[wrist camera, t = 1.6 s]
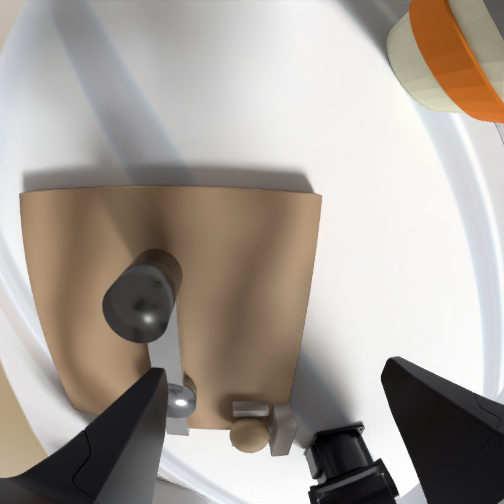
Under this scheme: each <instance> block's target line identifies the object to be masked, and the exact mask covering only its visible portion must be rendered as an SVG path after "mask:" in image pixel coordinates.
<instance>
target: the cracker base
mask: <svg viewBox="0 0 504 504" xmlns="http://www.w3.org/2000/svg"><path fill="white" fill-rule="evenodd" d="M19 198H20V215H21V226H22V236H23V244H24V251H25V258H26V264H27V269H28V274H29V280H30V284H31V289H32V293H33V298H34V302H35V306H36V309H37V313H38V317H39V320H40V324H41V327H42V330H43V333H44V337H45V340H46V343H47V346H48V348H49V351H50V354H51V357H52V359H53V362H54V365H55V367H56V370H57V372H58V375H59V377H60V380H61V382H62V384H63V386H64V389H65V391H66V393H67V395H68V397H69V400H70V402H71V404H72V406H73V408H74V409H76V410H80V411H83V412H87V413H92V414H96V415H100V414H101V413H102V412H103V411H104V410H106V409H107V408H108V407H109V406H110V405H111V404H112V403H113V402H114V401H115V400H117V399H118V398H119V397H120V396H121V395H122V394H123V393H124V392H125V391H126V390H127V389H129V388H130V387H131V386H132V385H133V384H134V383H135V382H136V381H137V380H138V379H139V378H140V377H142V376H143V375H144V374H145V373H146V372H147V371H148V370H149V369H150V368H152V367H151V361H150V356H149V349H148V343H143V344H141V343H134V342H130V341H128V340H125V339H123V338H122V337H120V336H119V335H117V334H116V333H115V332H114V331H113V330H112V329H111V328H110V327H109V325H108V324H107V322H106V320H105V318H104V315H103V311H102V301H103V297H104V295H105V293H106V291H107V290H108V289H109V288H110V286H111V285H112V284H113V283H114V282H115V281H116V279H117V278H118V277H119V276H120V275H121V274H122V273H123V272H124V270H125V269H126V268H127V267H128V266H129V265H130V264H131V263H132V261H133V260H134V259H135V258H136V257H137V256H138V255H139V254H140V253H142V252H143V251H145V250H148V249H161V250H164V251H167V252H169V253H170V254H172V255H173V256H174V257H175V258H176V259H177V261H178V262H179V264H180V266H181V268H182V272H183V280H182V284H181V287H180V290H179V293H178V294H179V314H180V330H181V343H182V355H183V366H184V376H185V377H186V378H188V379H189V380H191V381H192V382H193V383H194V385H195V386H196V388H197V402H196V409H195V411H194V413H193V414H191V415H190V416H188V418H189V425H190V428H195V429H222V430H231V427H232V426H233V424H234V423H235V422H236V421H238V420H239V419H242V418H245V417H255V418H258V419H260V420H262V421H263V422H264V423H265V424H266V425H267V426H268V429H269V432H270V438H269V445H270V451H271V456H283V455H288V454H289V451H290V448H291V445H292V442H293V439H294V436H295V432H296V429H297V424H296V421H295V417H294V414H293V410H292V406H291V403H288V402H289V398H290V393H291V389H292V384H293V380H294V375H295V370H296V365H297V361H298V356H299V351H300V345H301V340H302V335H303V329H304V324H305V318H306V312H307V306H308V300H309V294H310V288H311V281H312V275H313V268H314V261H315V253H316V246H317V238H318V230H319V221H320V212H321V203H322V195H319V194H316V193H307V192H296V191H284V190H270V189H255V188H237V187H213V186H161V185H152V186H102V187H80V188H63V189H49V190H37V191H29V192H24V193H20V194H19ZM232 446H234V445H233V444H232Z"/></svg>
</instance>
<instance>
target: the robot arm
mask: <svg viewBox="0 0 504 504" xmlns="http://www.w3.org/2000/svg"><path fill="white" fill-rule="evenodd" d="M381 382H382V385H383V388H384V391H385V394H386V397H387V401H388V404H389V407H390V410H391V413H392V415H393V418H394V420H395V422H396V425H397V427H398V429H399V432H400V434H401V436H402V439H403V441H404V443H405V446H406V448H407V451H408V453H409V456H410V458H411V460H412V463H413V466H414V468H415V471H416V473H417V476H418V478H419V481H420V483H421V486H422V489H423V492H424V494H425V497H426V499H427V503H428V504H504V405H503V404H500V403H497V402H495V401H492V400H490V399H487V398H485V397H483V396H480V395H478V394H476V393H473V392H472V391H470V390H467V389H465V388H463V387H461V386H459V385H457V384H455V383H453V382H450V381H448V380H446V379H444V378H442V377H440V376H438V375H436V374H434V373H432V372H430V371H428V370H426V369H423V368H421V367H419V366H417V365H415V364H413V363H411V362H409V361H407V360H405V359H403V358H401V357H399V356H396V357H391V358H389V359H388V360H387V362H386V364H385V367H384V369H383V372H382V374H381ZM168 393H169V388H168V382H167V376H166V371H165V369H164V368H159V367H152V368H150V369H149V370H148V371H147V372H146V373H145V374H144V375H143V376H142V377H140V378H139V379H138V380H137V381H136V382H135V383H134V384H133V385H132V386H131V387H130V388H129V389H127V390H126V391H125V392H124V393H123V394H122V395H121V396H120V397H119V398H118V399H117V400H115V401H114V402H113V403H112V404H111V405H110V406H109V407H108V408H107V409H106V410H104V411H103V412H102V413H101V414H100V415H99V416H98V417H97V418H96V419H94V420H93V421H92V422H91V423H90V424H89V425H88V426H87V427H86V428H85V430H82V431H81V432H80V433H79V434H78V435H76V436H75V437H74V438H73V439H72V440H70V441H69V442H68V443H67V444H66V445H64V446H63V447H62V448H60V449H59V450H58V451H56V452H55V453H53V454H52V455H50V456H49V457H47V458H46V459H44V460H43V461H41V462H40V463H38V464H37V465H35V466H34V467H32V468H30V469H29V470H27V471H26V472H24V473H22V474H20V475H17V476H14V477H9V478H0V504H152V501H153V495H154V489H155V483H156V478H157V472H158V467H159V462H160V457H161V452H162V447H163V442H164V437H165V429H166V417H167V404H168ZM364 429H365V427H364V425H358V426H353V427H348V428H343V429H337V430H332V431H326V432H320V433H317V434H316V435H315V437H314V439H313V442H312V444H311V445H310V447H309V449H308V451H307V454H306V460H307V462H308V465H309V469H310V472H311V476H312V479H314V480H315V479H317V481H318V485H313V486H310V491H309V492H308V494H309V498H310V503H311V504H396V501H395V500H397V499H399V498H400V496H399V493H398V490H397V487H396V485H395V483H394V481H393V479H392V477H391V475H390V474H389V472H388V470H387V468H386V467H385V465H384V463H383V461H382V459H381V458H380V459H378V460H376V461H375V462H374V461H373V459H372V457H371V455H370V453H369V451H368V449H367V446H366V444H365V442H364V440H363V438H362V436H361V434H362V432H363V431H364Z"/></svg>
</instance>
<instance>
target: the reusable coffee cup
mask: <svg viewBox="0 0 504 504" xmlns="http://www.w3.org/2000/svg"><path fill="white" fill-rule="evenodd" d="M386 49H387V55H388V59H389V62H390V65H391V67H392V69H393V72H394V74H395V76H396V77H397V79H398V80H399V82H400V84H401V85H402V86H403V88H404V89H405V90H406V92H407V93H408V94H409V95H410V96H411V97H412V98H413V99H414V100H415V101H417V102H418V103H419V104H420V105H422V106H423V107H425V108H427V109H429V110H432V111H435V112H448V113H464V114H468V115H470V116H471V117H473V118H475V119H478V120H481V121H489V122H496V123H502V124H504V0H412V1H411V3H410V8H409V11H408V12H407V13H406V14H405V15H404V16H403V17H402V18H401V19H400V20H399V21H398V22H397V23H396V24H395V25H394V26H393V27H392V28H391V30H390V31H389V33H388V36H387V39H386Z"/></svg>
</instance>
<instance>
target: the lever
mask: <svg viewBox="0 0 504 504" xmlns="http://www.w3.org/2000/svg"><path fill="white" fill-rule="evenodd" d="M182 280H183V272H182V268H181V266H180V264H179V262H178V261H177V259H176V258H175V257H174V256H173V255H172V254H170V253H169V252H167V251H164V250H161V249H148V250H145V251H143V252H142V253H140V254H139V255H138V256H137V257H136V258H135V259H134V260H133V261H132V263H131V264H130V265H129V266H128V267H127V268H126V269H125V270H124V272H123V273H122V274H121V275H120V276H119V277H118V278H117V279H116V281H115V282H114V283H113V284H112V285H111V286H110V288H109V289H108V290H107V291H106V293H105V295H104V297H103V301H102V311H103V315H104V318H105V320H106V322H107V324H108V325H109V327H110V328H111V329H112V330H113V331H114V332H115V333H116V334H117V335H119V336H120V337H122V338H123V339H125V340H128V341H130V342H134V343H141V344H143V343H148V349H149V356H150V361H151V367H159V368H164V369H165V371H166V376H167V382H168V388H169V393H168V404H167V417H166V430H167V434H172V435H184V436H189V429H190V425H189V418H188V416H190V415H191V414H193V413H194V411H195V409H196V402H197V388H196V386H195V385H194V383H193V382H192V381H191V380H189V379H188V378H186V377H185V376H184V366H183V355H182V343H181V330H180V314H179V294H178V293H179V290H180V287H181V284H182Z"/></svg>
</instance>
